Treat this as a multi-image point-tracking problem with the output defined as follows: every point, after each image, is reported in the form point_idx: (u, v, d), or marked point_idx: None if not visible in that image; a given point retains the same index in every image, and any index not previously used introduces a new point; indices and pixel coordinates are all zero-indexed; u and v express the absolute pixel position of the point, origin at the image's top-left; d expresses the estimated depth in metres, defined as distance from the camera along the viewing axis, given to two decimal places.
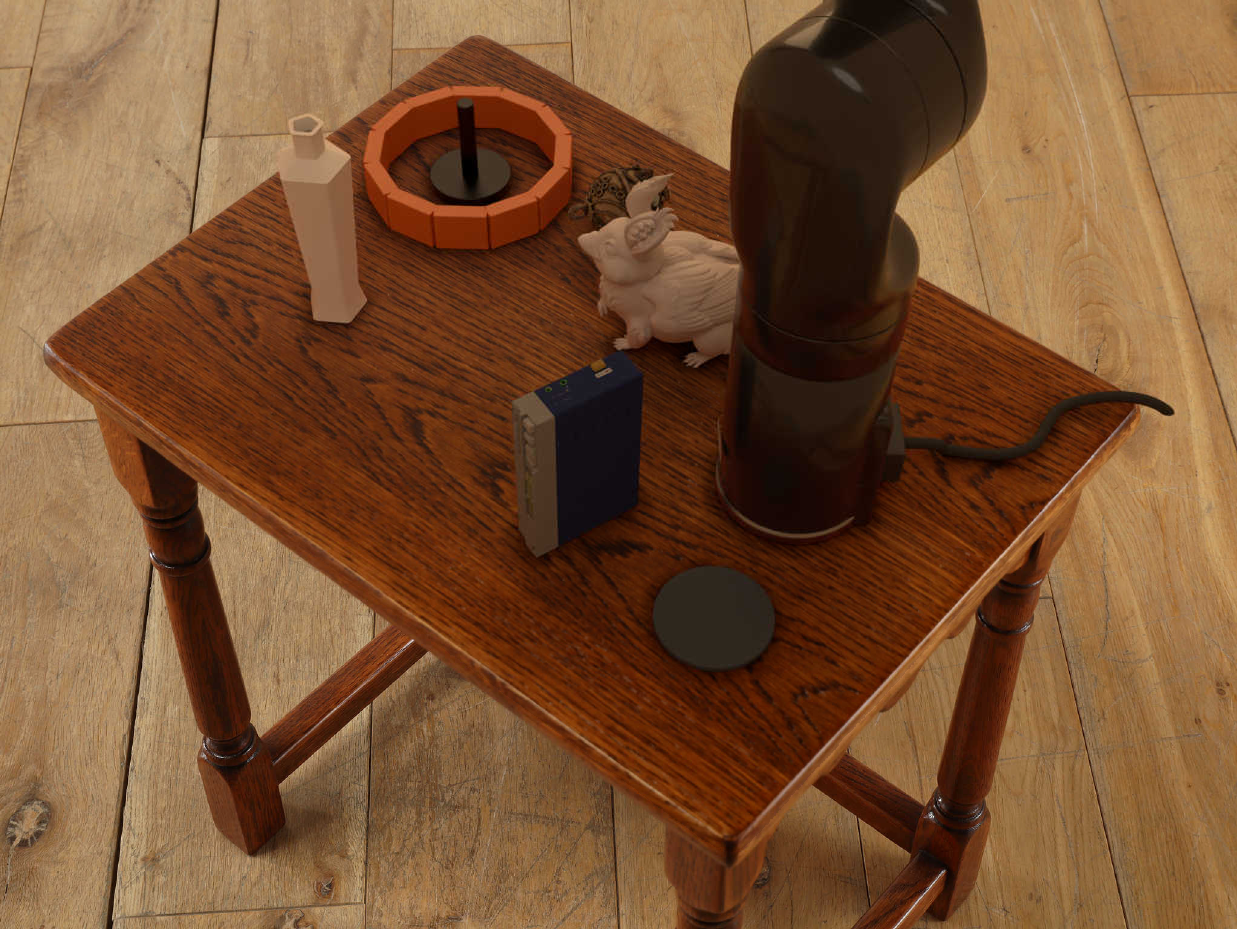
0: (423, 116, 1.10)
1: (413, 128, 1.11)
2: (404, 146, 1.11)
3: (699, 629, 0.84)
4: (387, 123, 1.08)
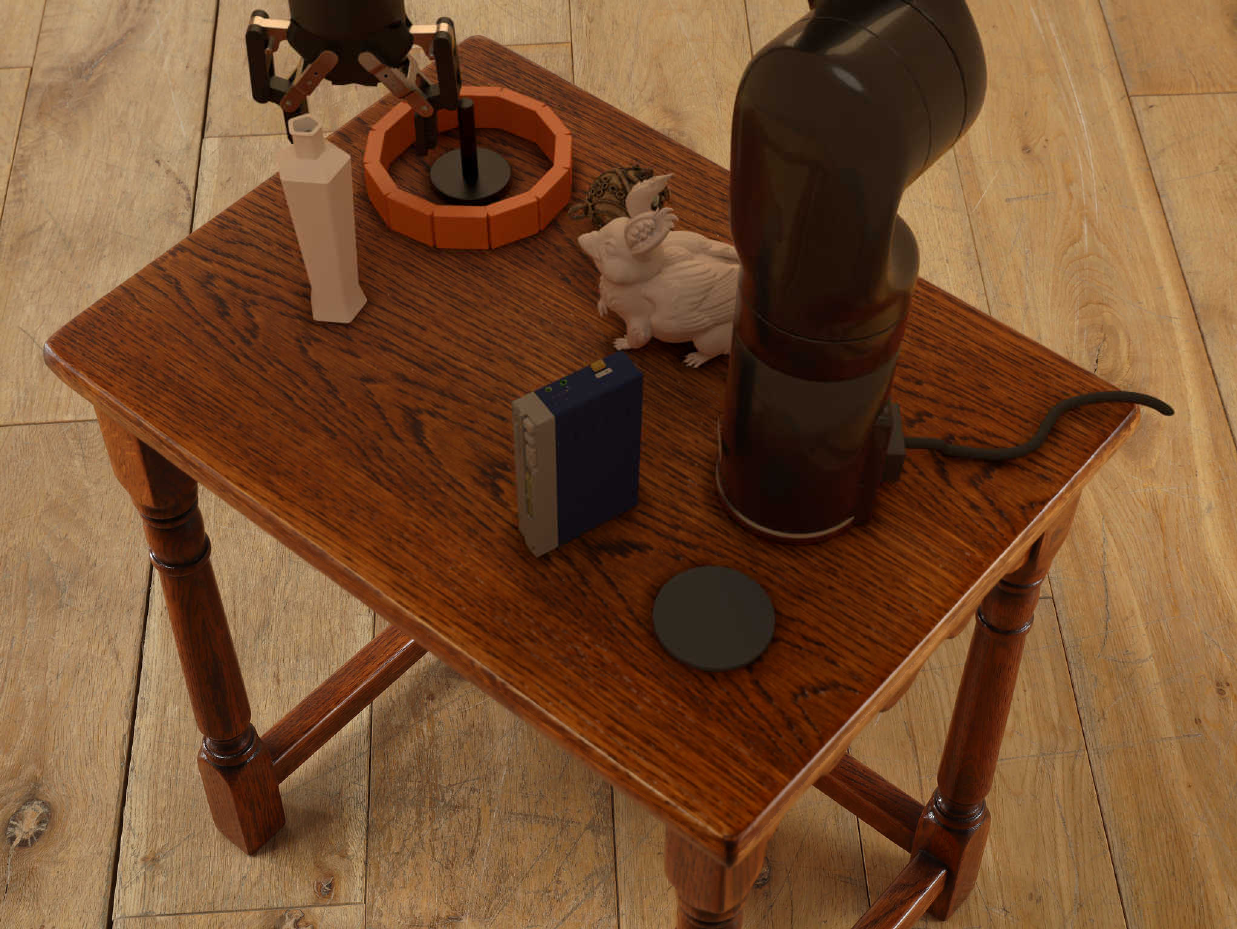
0: None
1: (413, 128, 1.11)
2: (404, 146, 1.11)
3: (699, 629, 0.84)
4: (387, 123, 1.08)
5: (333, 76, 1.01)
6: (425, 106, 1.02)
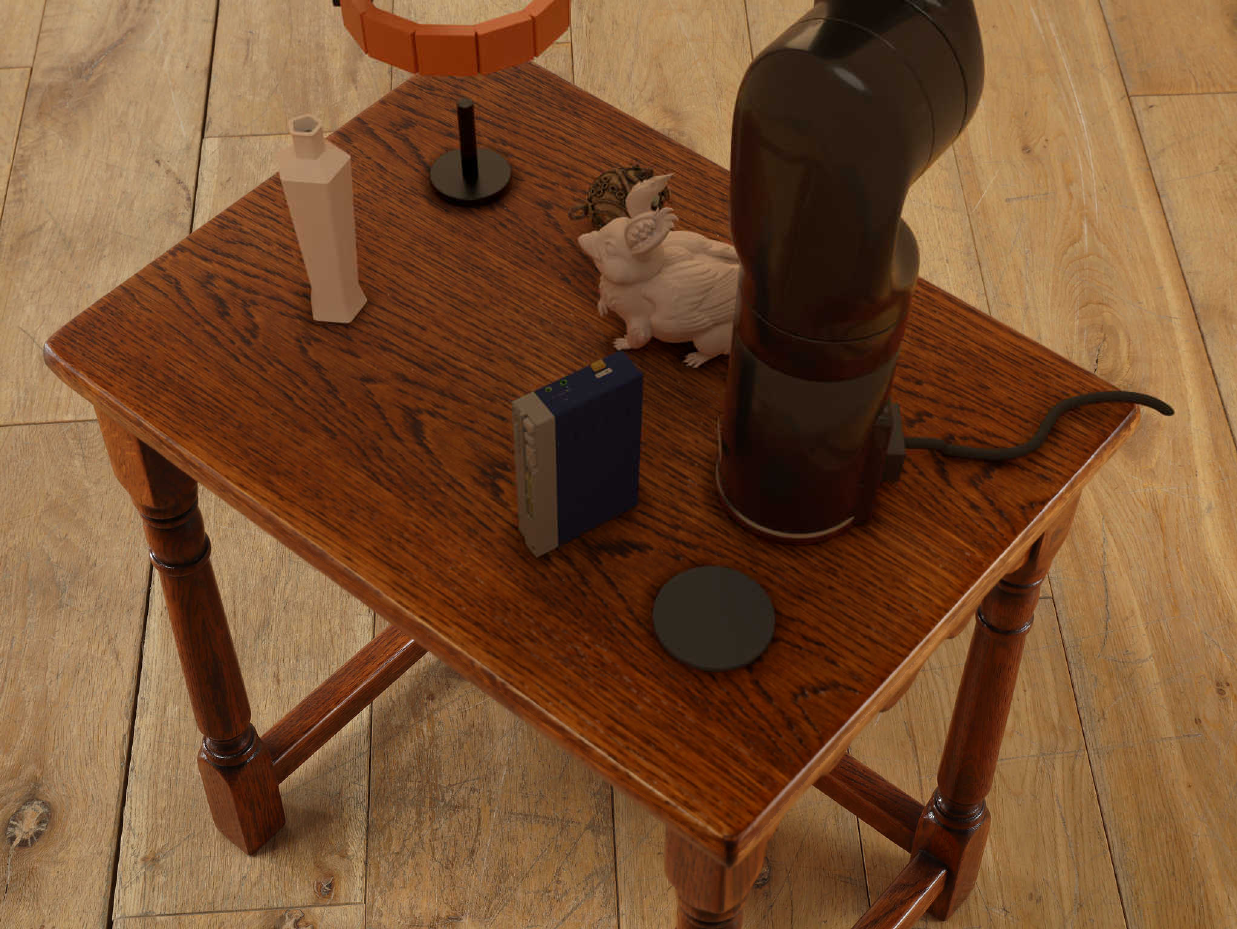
0: None
1: None
2: None
3: (699, 629, 0.84)
4: None
5: None
6: None
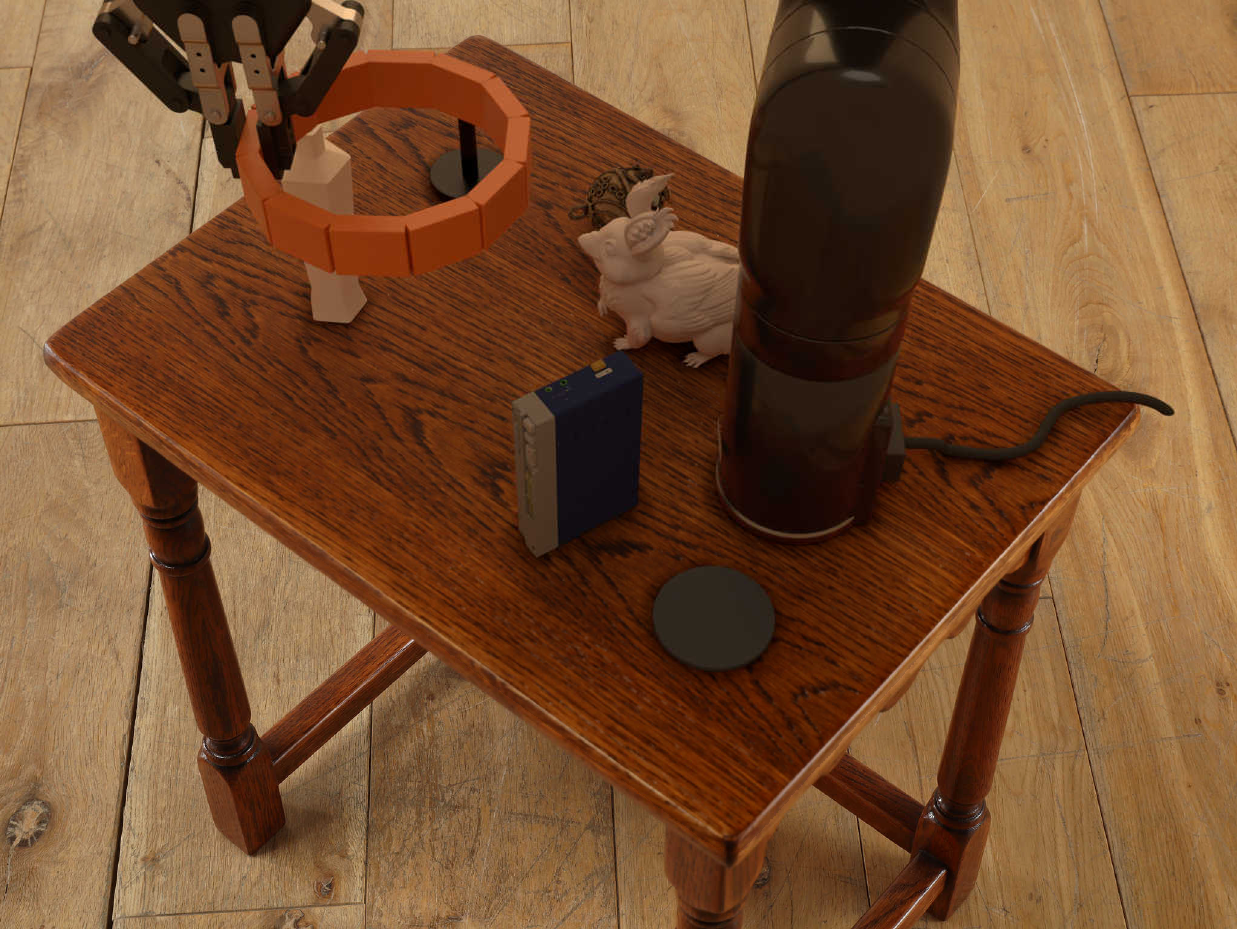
0: None
1: None
2: (301, 132, 0.80)
3: (699, 629, 0.84)
4: None
5: None
6: (269, 110, 0.74)
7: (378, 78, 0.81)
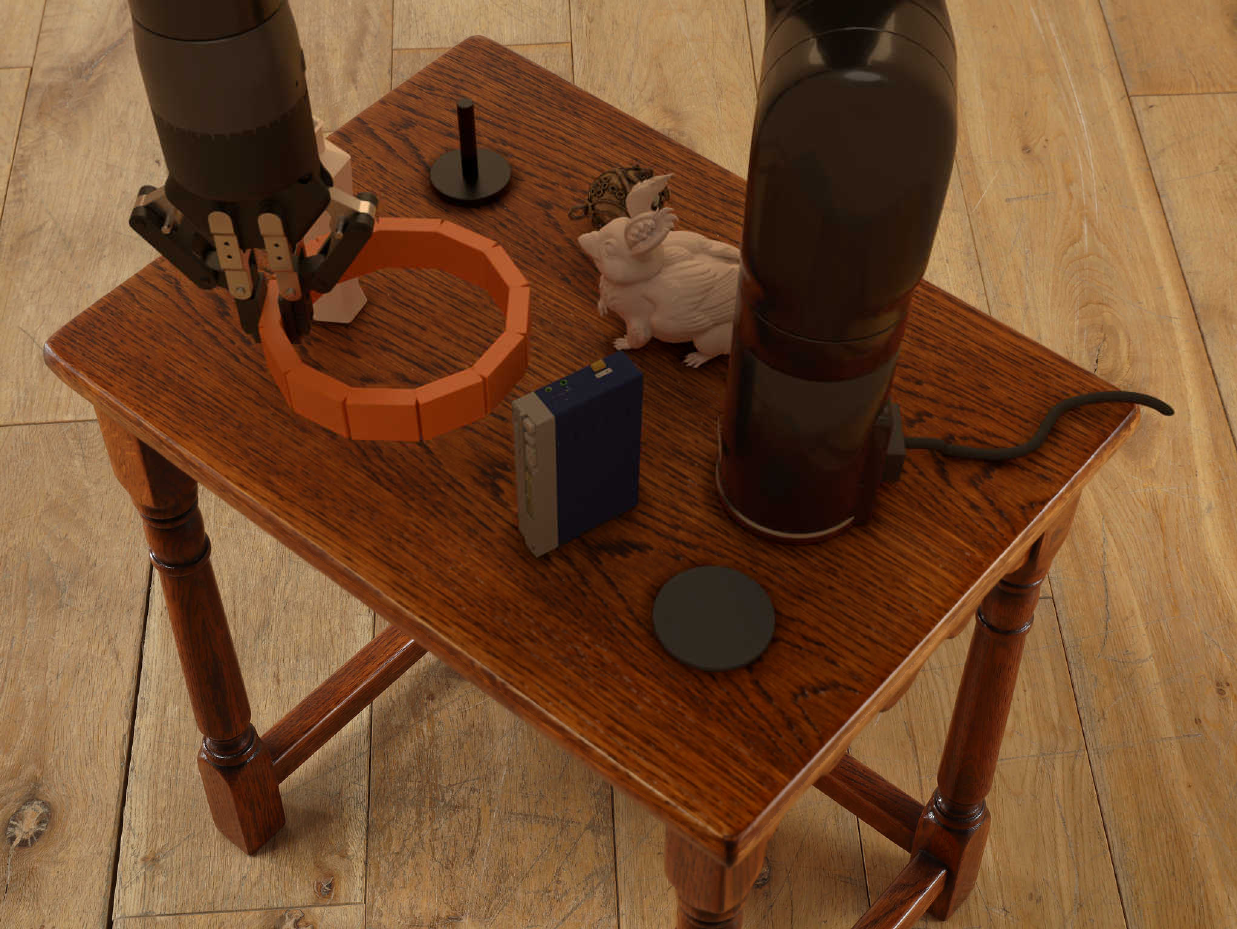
0: None
1: None
2: (317, 295, 0.87)
3: (699, 629, 0.84)
4: None
5: None
6: (290, 288, 0.80)
7: (388, 243, 0.87)
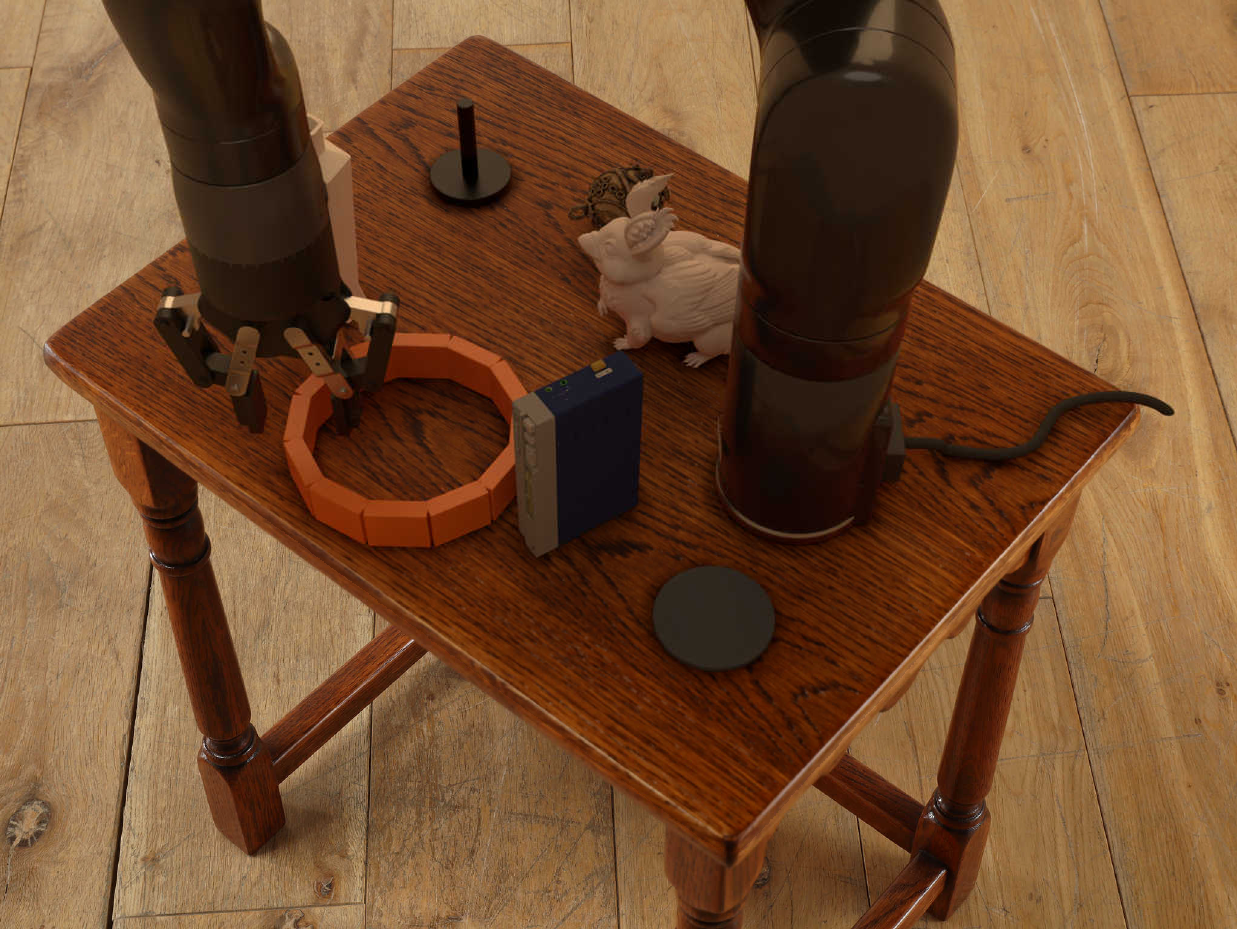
0: None
1: None
2: None
3: (699, 629, 0.84)
4: (314, 385, 0.92)
5: (256, 349, 0.84)
6: (342, 388, 0.86)
7: (402, 357, 0.95)
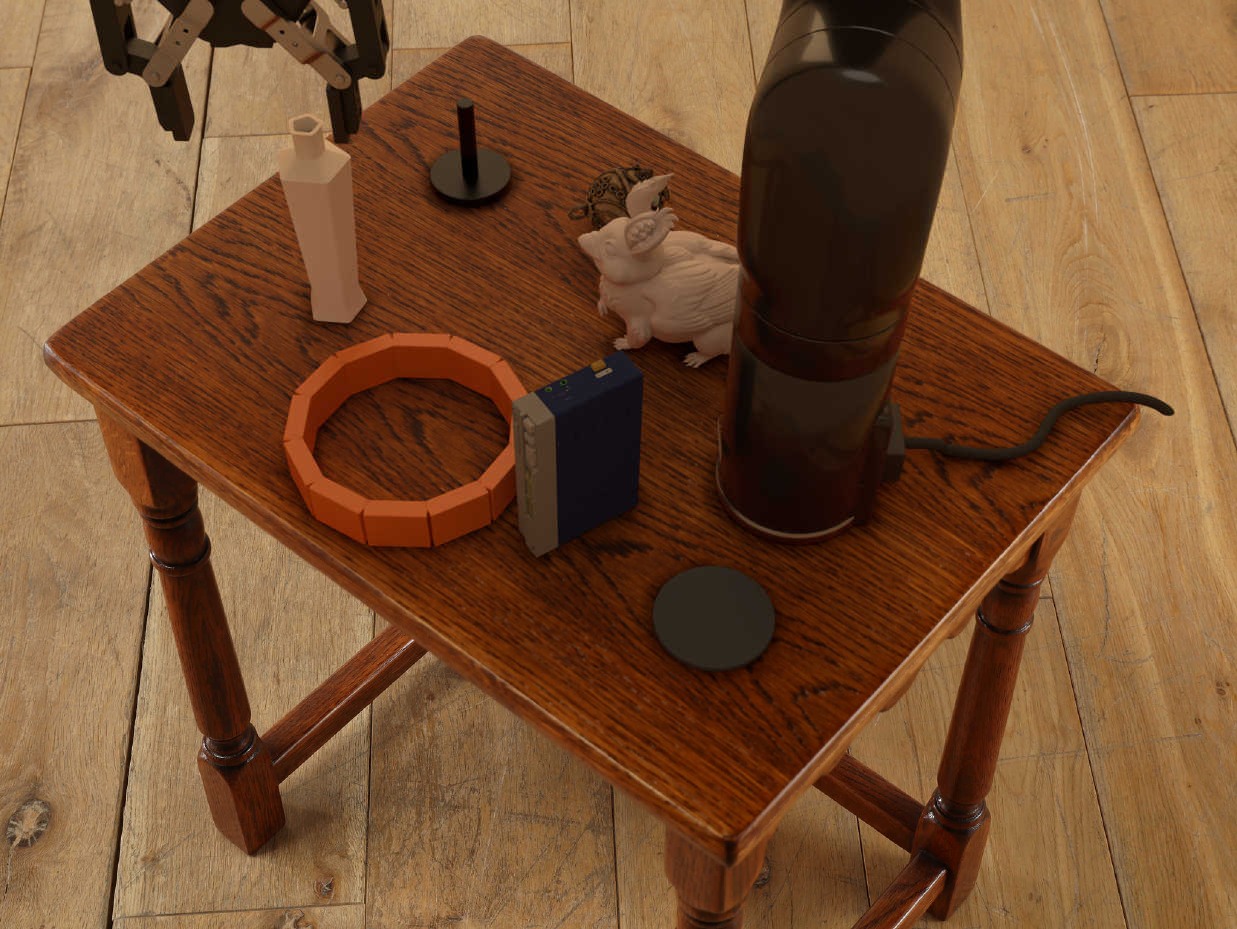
0: (358, 370, 0.94)
1: (347, 384, 0.94)
2: (336, 405, 0.94)
3: (699, 629, 0.84)
4: (314, 385, 0.92)
5: (211, 35, 0.74)
6: (339, 74, 0.75)
7: (402, 357, 0.95)
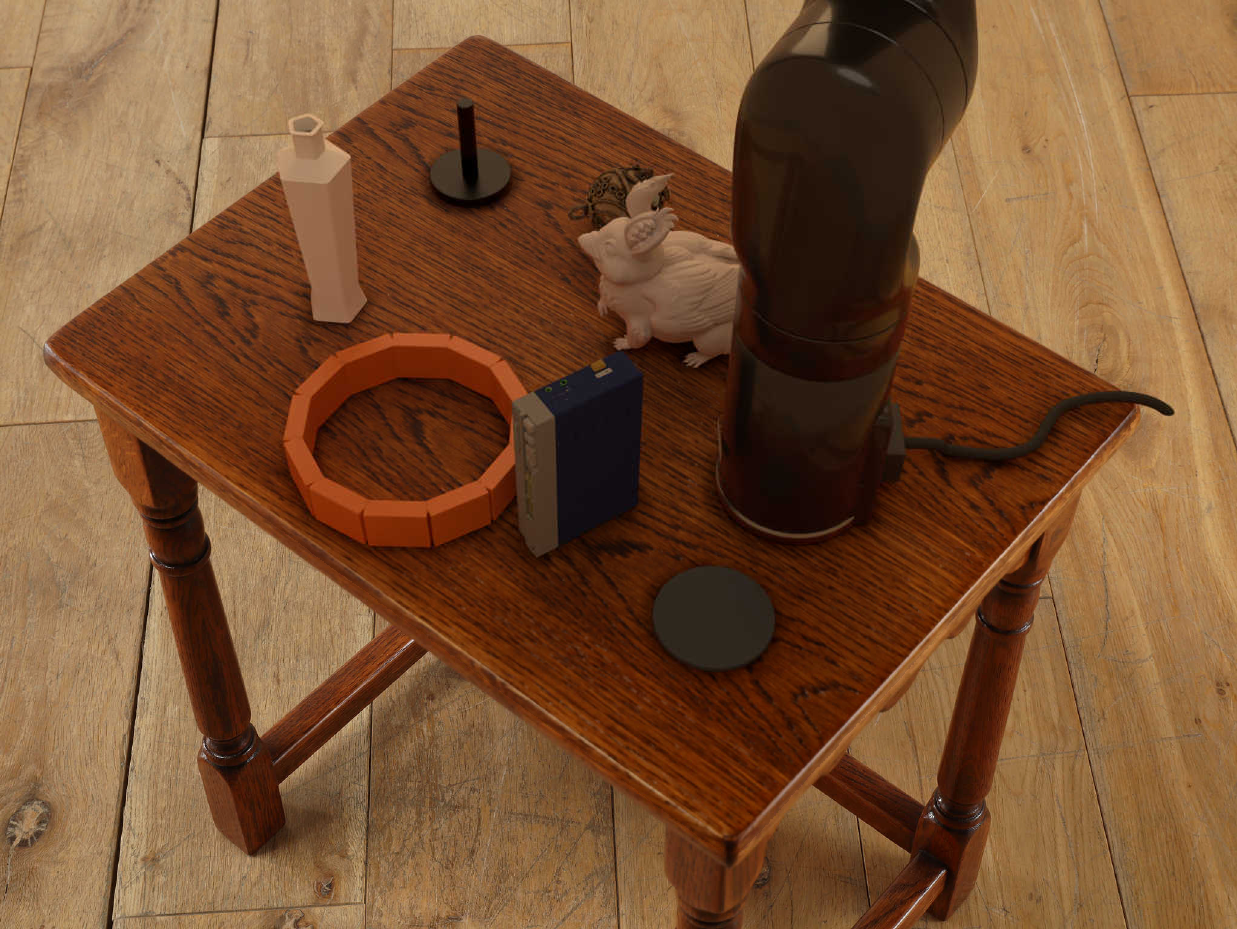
0: (358, 370, 0.94)
1: (347, 384, 0.94)
2: (336, 405, 0.94)
3: (699, 629, 0.84)
4: (314, 385, 0.92)
5: None
6: None
7: (402, 357, 0.95)
